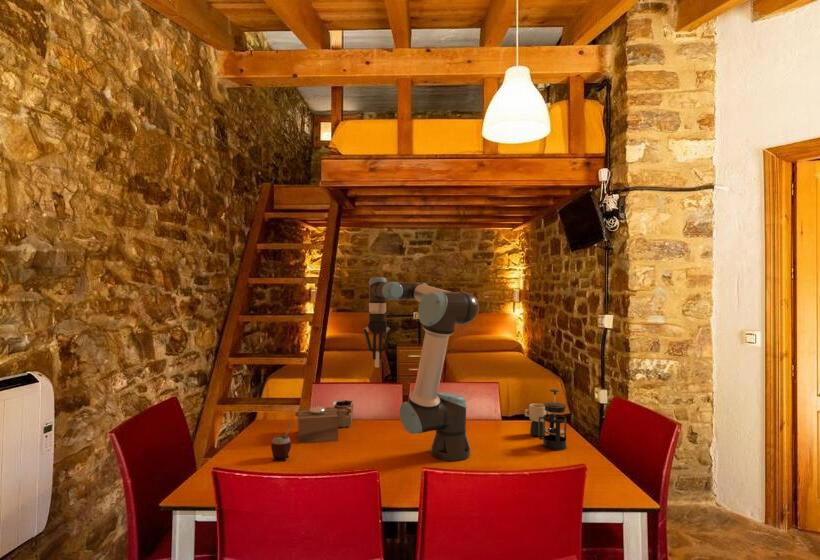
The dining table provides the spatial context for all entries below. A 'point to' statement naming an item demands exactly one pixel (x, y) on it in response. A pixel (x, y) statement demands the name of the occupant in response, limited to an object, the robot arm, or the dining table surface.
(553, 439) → the french press
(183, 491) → the dining table surface
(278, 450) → the mate gourd
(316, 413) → the steel pin
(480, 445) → the dining table surface
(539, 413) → the character mug
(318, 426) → the hitch block
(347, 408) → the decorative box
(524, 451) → the dining table surface
